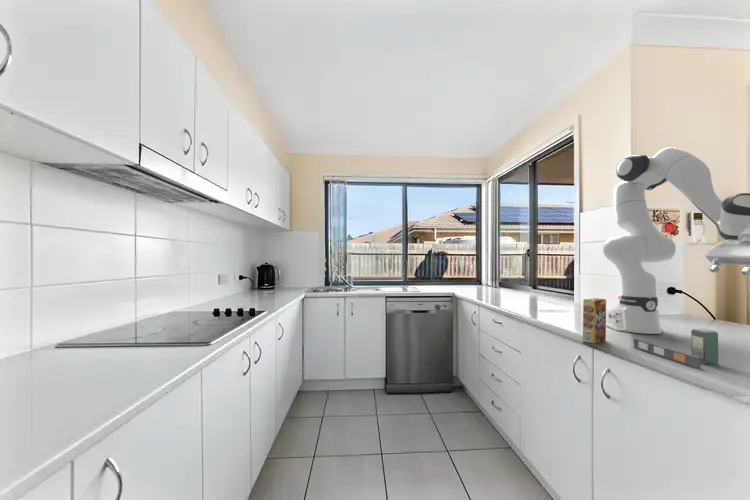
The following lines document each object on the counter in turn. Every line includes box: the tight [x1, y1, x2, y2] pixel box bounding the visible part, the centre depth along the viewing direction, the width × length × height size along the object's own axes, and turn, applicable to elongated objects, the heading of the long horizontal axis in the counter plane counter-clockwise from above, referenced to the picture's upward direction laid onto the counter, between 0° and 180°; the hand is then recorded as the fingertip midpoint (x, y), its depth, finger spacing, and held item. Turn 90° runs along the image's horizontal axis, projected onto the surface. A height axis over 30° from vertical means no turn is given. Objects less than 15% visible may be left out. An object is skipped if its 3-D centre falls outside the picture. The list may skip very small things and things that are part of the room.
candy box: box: [582, 297, 607, 345], centre depth 127 cm, size 9×4×15 cm, turn 123°
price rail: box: [633, 337, 702, 369], centre depth 108 cm, size 22×1×3 cm, turn 3°
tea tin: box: [690, 328, 719, 366], centre depth 102 cm, size 4×4×9 cm
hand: (728, 272), depth 106 cm, fingers open, 8 cm apart
